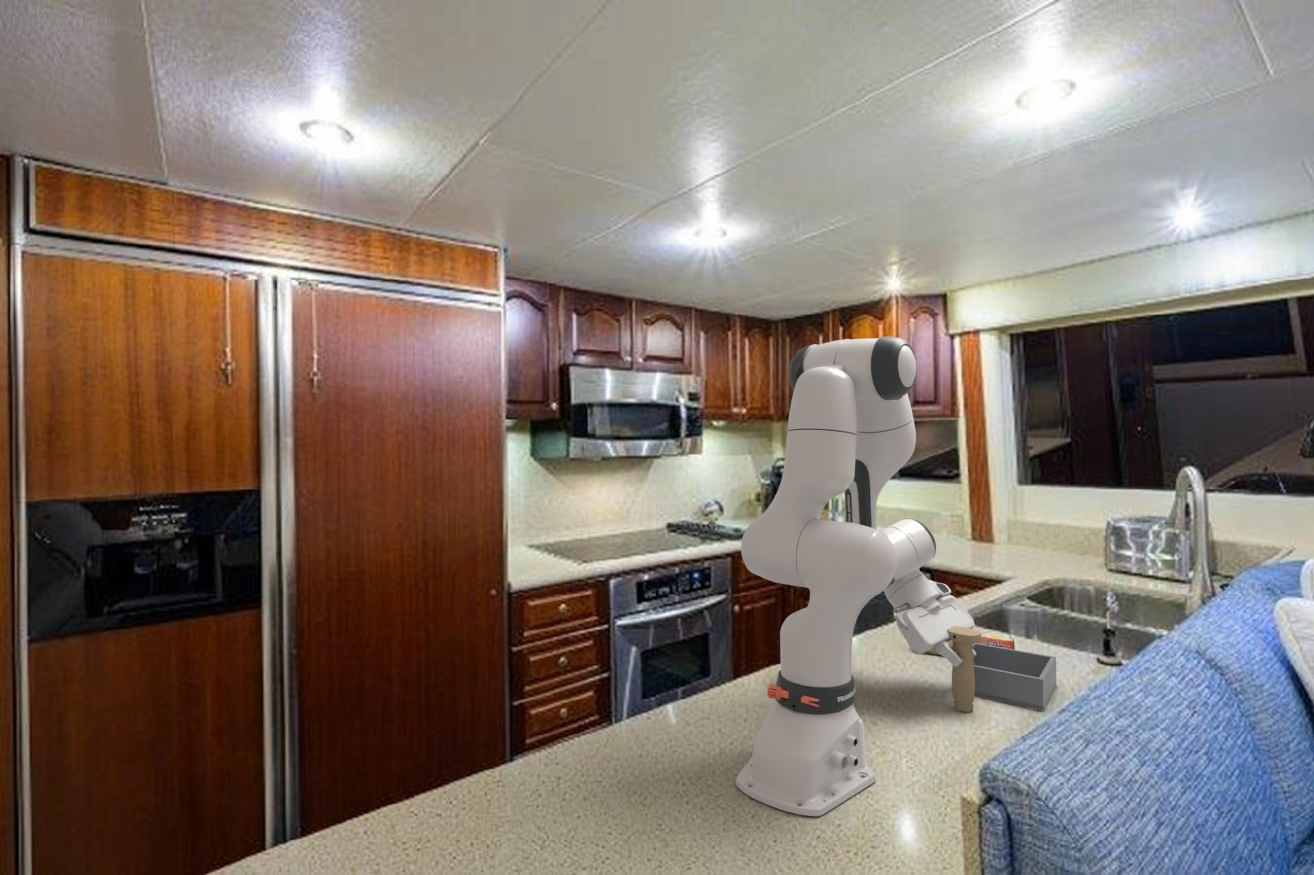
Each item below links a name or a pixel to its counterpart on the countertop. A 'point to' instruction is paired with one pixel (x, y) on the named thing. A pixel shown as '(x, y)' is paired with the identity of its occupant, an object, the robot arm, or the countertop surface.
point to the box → (1014, 676)
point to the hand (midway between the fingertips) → (966, 661)
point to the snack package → (988, 641)
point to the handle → (963, 667)
